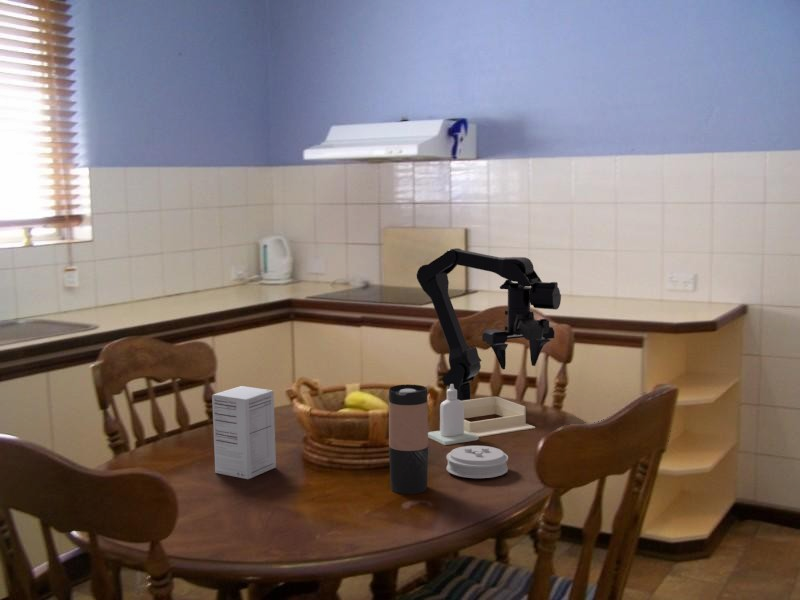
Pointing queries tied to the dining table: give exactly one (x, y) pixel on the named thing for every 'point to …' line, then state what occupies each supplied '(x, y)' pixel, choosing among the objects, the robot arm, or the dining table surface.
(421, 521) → the dining table surface
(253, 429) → the supplement box
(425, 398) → the travel mug
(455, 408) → the eye dropper bottle
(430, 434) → the coaster
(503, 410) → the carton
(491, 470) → the lid
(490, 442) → the dining table surface
